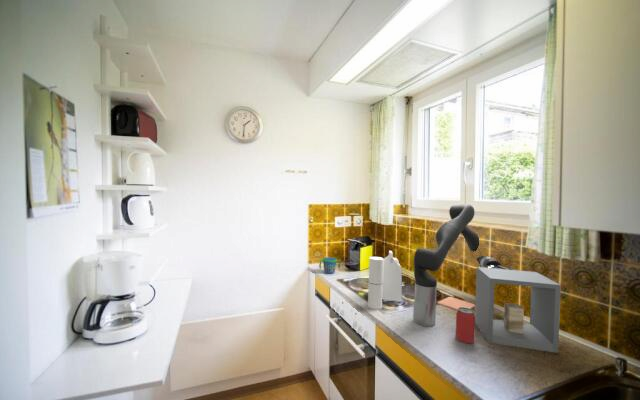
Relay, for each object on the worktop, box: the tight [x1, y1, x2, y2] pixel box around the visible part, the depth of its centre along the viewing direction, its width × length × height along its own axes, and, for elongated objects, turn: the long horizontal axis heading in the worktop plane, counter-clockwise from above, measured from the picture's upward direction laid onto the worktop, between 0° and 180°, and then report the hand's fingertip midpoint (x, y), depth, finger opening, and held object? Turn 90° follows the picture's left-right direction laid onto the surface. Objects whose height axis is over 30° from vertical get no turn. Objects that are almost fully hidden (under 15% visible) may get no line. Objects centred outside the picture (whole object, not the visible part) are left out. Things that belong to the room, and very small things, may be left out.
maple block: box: [503, 302, 525, 334], centre depth 109 cm, size 5×5×10 cm
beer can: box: [455, 307, 476, 344], centre depth 106 cm, size 7×7×12 cm
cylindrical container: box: [367, 256, 384, 310], centre depth 136 cm, size 7×7×25 cm
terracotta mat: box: [436, 296, 475, 311], centre depth 141 cm, size 14×14×1 cm
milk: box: [382, 250, 403, 302], centre depth 148 cm, size 12×12×26 cm
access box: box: [474, 266, 562, 354], centre depth 110 cm, size 18×23×26 cm
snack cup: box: [318, 256, 341, 275], centre depth 193 cm, size 16×10×10 cm
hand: (503, 275), depth 121 cm, fingers open, 8 cm apart
